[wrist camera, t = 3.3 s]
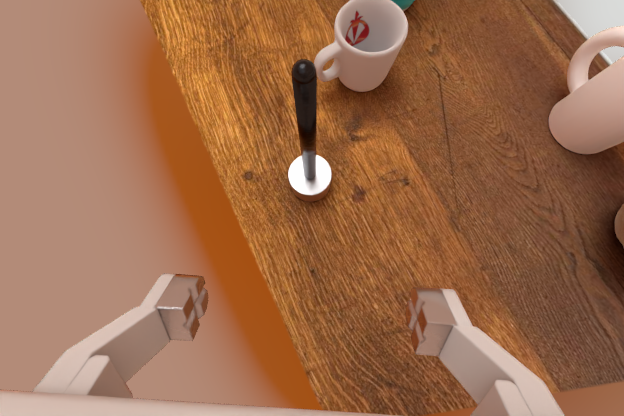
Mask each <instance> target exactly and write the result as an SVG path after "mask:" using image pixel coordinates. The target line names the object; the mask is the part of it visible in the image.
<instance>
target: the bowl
mask: <svg viewBox="0 0 624 416" xmlns="http://www.w3.org/2000/svg"><path fill="white" fill-rule="evenodd" d="M615 233H616V236H617V238H618V239H619V241H620V242H621V244H622V245H623V247H624V204H623V205H622V207H621V208H620V210H619V211H618V212H617V215H616V218H615Z"/></svg>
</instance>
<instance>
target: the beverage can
mask: <svg viewBox="0 0 624 416" xmlns="http://www.w3.org/2000/svg"><path fill="white" fill-rule="evenodd" d="M391 1H393V2H394V3H396V4H397V5H398V6H399V7H400V8H401V9H402V11H405V10H406V9H408V8H409V7H410V5H411V4H412V3H413V2H414V1H415V0H391Z"/></svg>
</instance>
